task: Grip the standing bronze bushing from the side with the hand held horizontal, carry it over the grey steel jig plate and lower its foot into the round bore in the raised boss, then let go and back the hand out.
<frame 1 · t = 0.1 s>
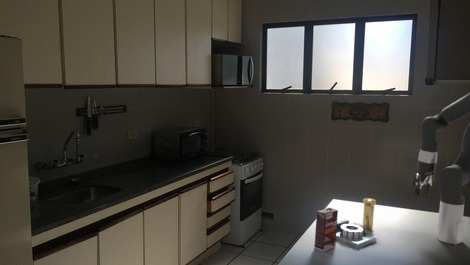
hand: (422, 194, 186), 17 cm above the table, tool pointing down, fingers open, 8 cm apart
supplement box: (325, 248, 166), on the table
bushing: (367, 229, 188), on the table
jig: (351, 238, 177), on the table
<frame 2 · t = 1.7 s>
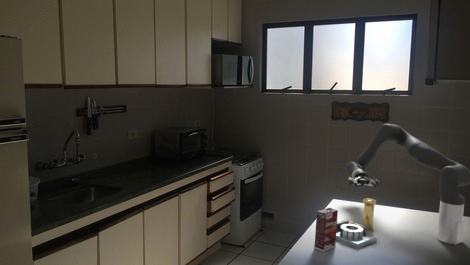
hand: (365, 185, 197), 18 cm above the table, tool horizontal, fingers open, 8 cm apart
nothing on the table moved.
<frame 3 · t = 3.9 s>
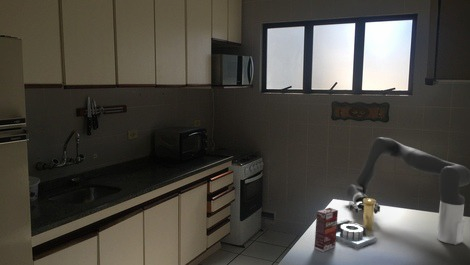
hand: (366, 211, 193), 7 cm above the table, tool horizontal, fingers open, 8 cm apart
nothing on the table moved.
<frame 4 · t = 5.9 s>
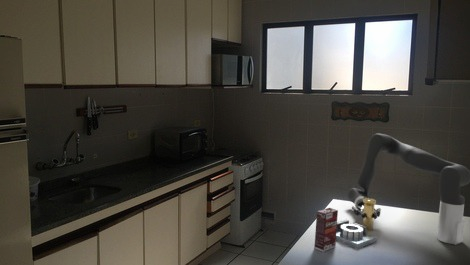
hand: (369, 216, 185), 7 cm above the table, tool horizontal, fingers closed on bushing, 4 cm apart
bushing: (367, 229, 188), on the table, touching gripper
everything else where it was.
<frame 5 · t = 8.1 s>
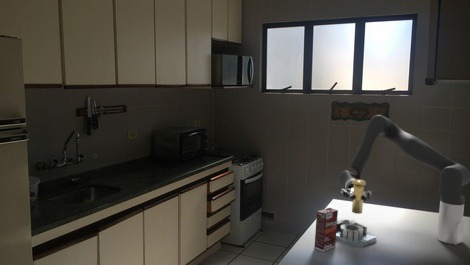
hand: (358, 198, 176), 18 cm above the table, tool horizontal, fingers closed on bushing, 4 cm apart
bushing: (357, 211, 179), point 11 cm above the table, touching gripper
everything else where it was.
when the fingers open (11 cm above the table, at t = 10.5 s): bushing drops 2 cm, resting on jig.
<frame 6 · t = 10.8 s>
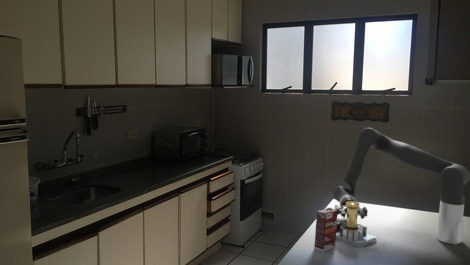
hand: (353, 216, 173), 11 cm above the table, tool horizontal, fingers open, 7 cm apart
bushing: (351, 234, 176), point 2 cm above the table, touching jig
everything else where it was.
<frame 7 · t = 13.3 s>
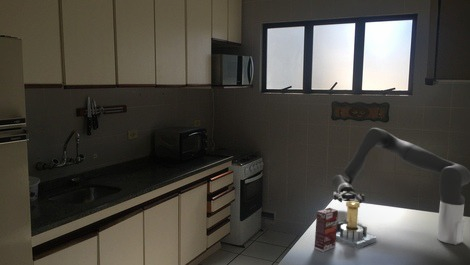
hand: (350, 200, 186), 14 cm above the table, tool horizontal, fingers open, 8 cm apart
nothing on the table moved.
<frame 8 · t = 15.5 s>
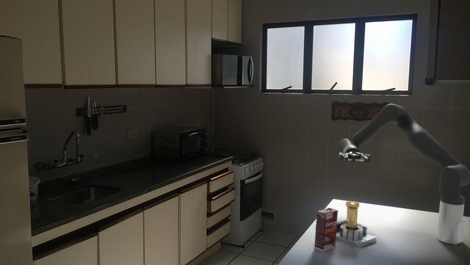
hand: (356, 159, 188), 32 cm above the table, tool horizontal, fingers open, 8 cm apart
nothing on the table moved.
at the end: bushing 0.1 cm off-centre in the jig, point 2.1 cm above the jig's base; bushing tilted 2°; the gripper is holding nothing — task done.
